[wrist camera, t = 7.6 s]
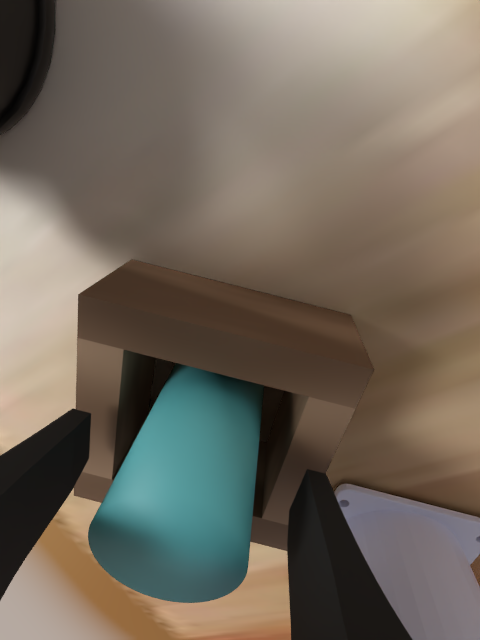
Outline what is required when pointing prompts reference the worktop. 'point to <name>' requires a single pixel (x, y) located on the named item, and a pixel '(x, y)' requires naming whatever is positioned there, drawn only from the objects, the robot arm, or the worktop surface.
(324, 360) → the socket block
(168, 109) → the worktop surface
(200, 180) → the worktop surface
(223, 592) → the peg
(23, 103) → the french press
